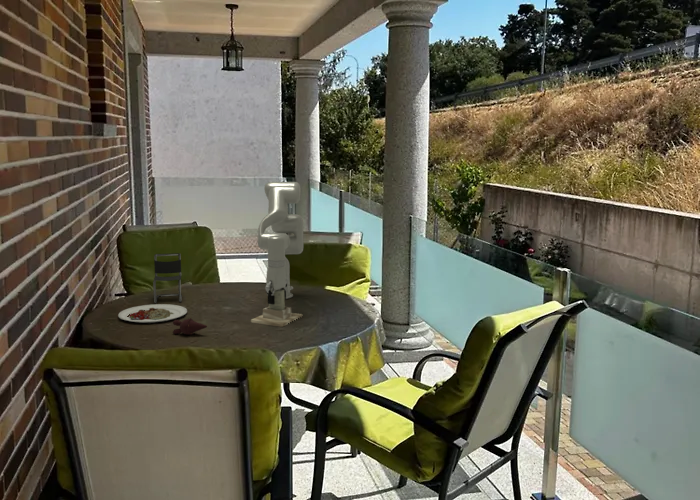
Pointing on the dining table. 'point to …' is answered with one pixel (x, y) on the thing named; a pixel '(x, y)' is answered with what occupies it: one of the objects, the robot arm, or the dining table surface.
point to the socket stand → (276, 317)
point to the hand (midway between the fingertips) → (277, 301)
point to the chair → (167, 268)
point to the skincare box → (278, 301)
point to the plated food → (152, 313)
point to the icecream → (187, 326)
